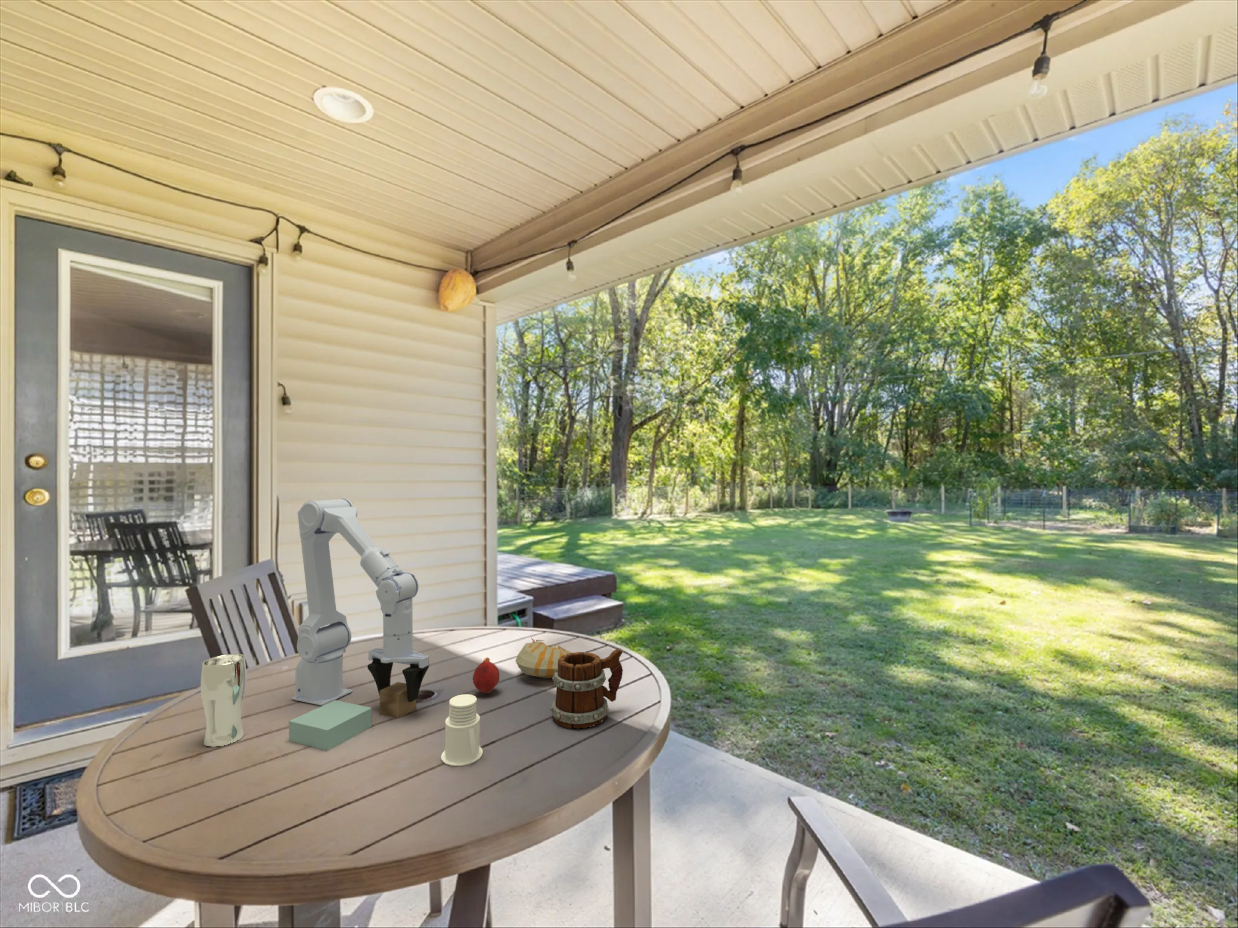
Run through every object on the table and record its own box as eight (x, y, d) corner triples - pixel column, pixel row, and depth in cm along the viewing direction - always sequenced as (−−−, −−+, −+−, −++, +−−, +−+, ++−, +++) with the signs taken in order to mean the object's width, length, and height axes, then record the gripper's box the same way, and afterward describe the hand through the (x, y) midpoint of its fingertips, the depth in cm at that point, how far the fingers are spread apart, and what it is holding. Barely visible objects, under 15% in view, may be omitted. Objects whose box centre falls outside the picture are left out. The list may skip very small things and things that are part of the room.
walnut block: (379, 714, 112) (379, 690, 112) (397, 705, 117) (397, 681, 117) (398, 718, 110) (398, 693, 111) (416, 708, 115) (416, 684, 115)
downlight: (432, 754, 96) (433, 698, 96) (468, 740, 101) (469, 686, 101) (454, 773, 90) (455, 714, 90) (491, 758, 95) (492, 701, 95)
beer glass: (255, 733, 104) (255, 655, 105) (218, 751, 98) (218, 667, 98) (229, 728, 107) (229, 651, 107) (191, 745, 100) (191, 663, 100)
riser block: (288, 742, 102) (288, 720, 102) (335, 719, 111) (334, 699, 111) (327, 752, 98) (327, 730, 98) (371, 728, 107) (371, 707, 107)
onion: (492, 699, 119) (492, 663, 119) (468, 697, 120) (468, 661, 120) (503, 689, 125) (503, 654, 125) (480, 687, 126) (480, 652, 126)
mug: (541, 708, 114) (553, 636, 115) (605, 710, 118) (616, 641, 119) (552, 733, 103) (564, 653, 104) (622, 735, 107) (634, 658, 108)
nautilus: (510, 662, 144) (566, 660, 148) (517, 688, 123) (582, 684, 127) (512, 632, 144) (567, 630, 148) (519, 652, 124) (583, 650, 128)
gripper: (356, 634, 113) (356, 700, 113) (411, 641, 108) (412, 710, 107) (382, 625, 119) (383, 687, 119) (435, 631, 114) (436, 696, 114)
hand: (398, 697), depth 114 cm, fingers open, 7 cm apart
